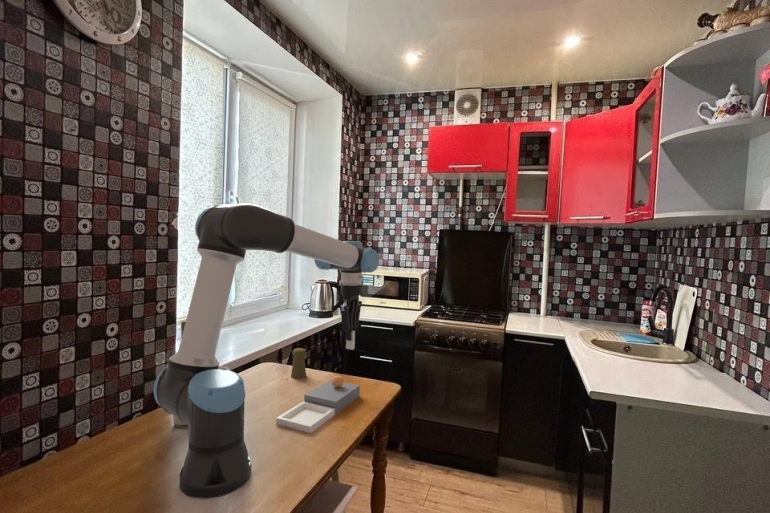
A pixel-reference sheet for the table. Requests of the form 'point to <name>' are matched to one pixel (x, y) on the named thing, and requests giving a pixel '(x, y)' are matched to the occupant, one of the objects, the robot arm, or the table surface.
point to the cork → (298, 363)
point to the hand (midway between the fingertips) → (350, 348)
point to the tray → (305, 417)
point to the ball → (337, 381)
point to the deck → (333, 395)
